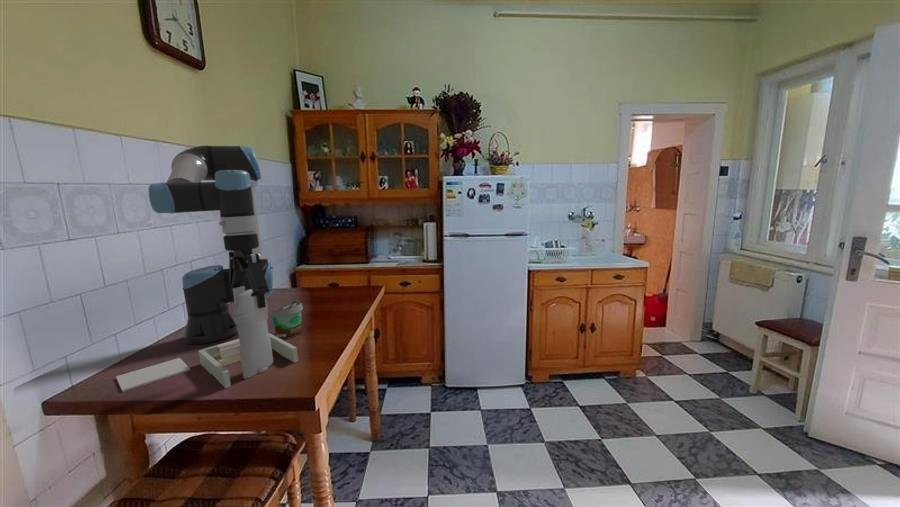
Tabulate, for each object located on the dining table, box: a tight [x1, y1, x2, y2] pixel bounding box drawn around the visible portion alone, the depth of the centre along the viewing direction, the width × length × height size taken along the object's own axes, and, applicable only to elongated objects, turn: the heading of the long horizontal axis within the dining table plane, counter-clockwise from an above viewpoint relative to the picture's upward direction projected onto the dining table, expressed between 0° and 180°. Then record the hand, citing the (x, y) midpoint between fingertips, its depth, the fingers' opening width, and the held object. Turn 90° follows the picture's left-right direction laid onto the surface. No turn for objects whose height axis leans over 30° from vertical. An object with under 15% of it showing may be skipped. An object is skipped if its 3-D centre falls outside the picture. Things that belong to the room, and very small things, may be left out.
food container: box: [270, 299, 304, 340], centre depth 123 cm, size 12×6×10 cm, turn 168°
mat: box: [115, 357, 191, 393], centre depth 99 cm, size 11×14×1 cm
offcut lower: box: [213, 354, 241, 367], centre depth 108 cm, size 6×12×2 cm, turn 137°
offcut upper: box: [216, 339, 241, 359], centre depth 107 cm, size 5×11×2 cm, turn 133°
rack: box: [198, 331, 299, 389], centre depth 103 cm, size 21×18×4 cm
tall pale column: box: [232, 289, 274, 380], centre depth 97 cm, size 11×4×22 cm, turn 163°
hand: (251, 315), depth 96 cm, fingers open, 13 cm apart
